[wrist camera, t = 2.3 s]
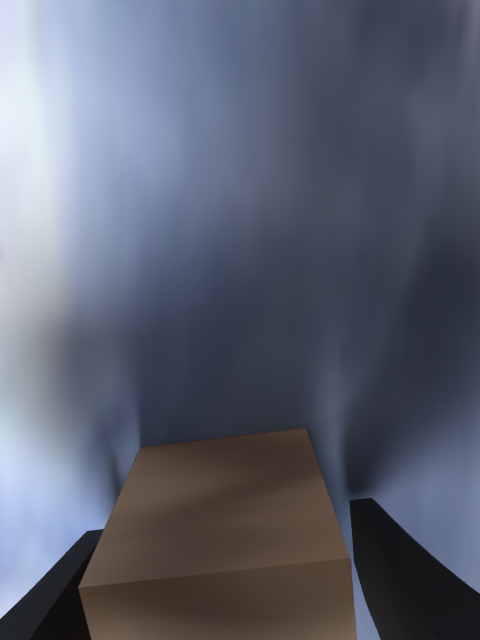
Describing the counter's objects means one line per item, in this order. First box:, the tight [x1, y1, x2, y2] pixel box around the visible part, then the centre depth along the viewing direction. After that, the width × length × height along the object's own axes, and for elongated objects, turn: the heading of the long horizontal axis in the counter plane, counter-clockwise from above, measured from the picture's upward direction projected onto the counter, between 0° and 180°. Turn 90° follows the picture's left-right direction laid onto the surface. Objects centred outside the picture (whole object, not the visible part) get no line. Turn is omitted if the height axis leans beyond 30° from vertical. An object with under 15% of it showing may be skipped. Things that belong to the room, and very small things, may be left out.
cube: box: [78, 428, 357, 640], centre depth 10 cm, size 5×5×5 cm
